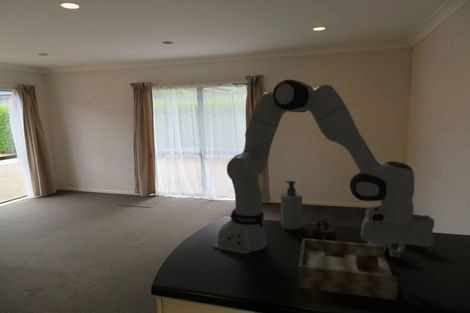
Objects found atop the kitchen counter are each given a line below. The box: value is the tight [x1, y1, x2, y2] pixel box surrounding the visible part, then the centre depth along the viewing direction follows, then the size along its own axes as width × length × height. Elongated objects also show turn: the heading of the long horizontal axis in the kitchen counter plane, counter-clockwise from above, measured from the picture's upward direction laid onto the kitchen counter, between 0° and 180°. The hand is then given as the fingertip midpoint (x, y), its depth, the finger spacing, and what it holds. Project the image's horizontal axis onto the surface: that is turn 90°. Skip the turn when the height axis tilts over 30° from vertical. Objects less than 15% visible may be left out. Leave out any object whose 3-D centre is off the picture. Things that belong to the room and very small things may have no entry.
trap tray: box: [297, 238, 400, 301], centre depth 101 cm, size 28×22×7 cm
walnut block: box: [355, 247, 378, 272], centre depth 99 cm, size 6×6×5 cm
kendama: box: [311, 219, 337, 241], centre depth 132 cm, size 6×10×20 cm
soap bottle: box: [280, 180, 303, 231], centre depth 145 cm, size 10×9×22 cm
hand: (394, 255), depth 96 cm, fingers closed
